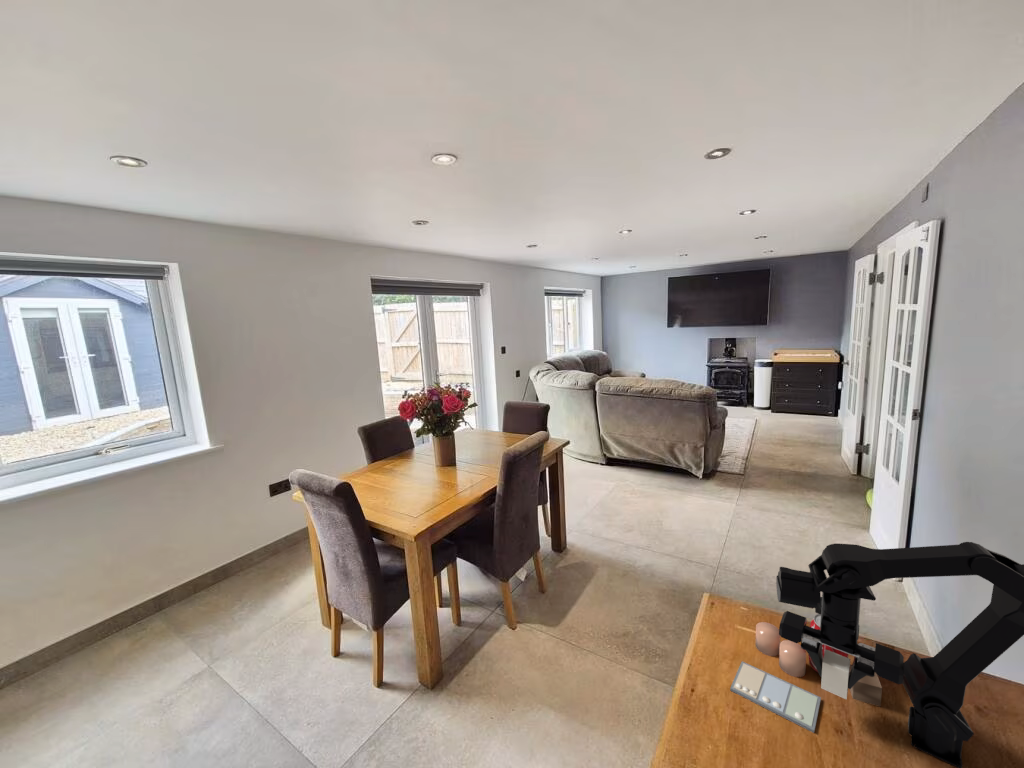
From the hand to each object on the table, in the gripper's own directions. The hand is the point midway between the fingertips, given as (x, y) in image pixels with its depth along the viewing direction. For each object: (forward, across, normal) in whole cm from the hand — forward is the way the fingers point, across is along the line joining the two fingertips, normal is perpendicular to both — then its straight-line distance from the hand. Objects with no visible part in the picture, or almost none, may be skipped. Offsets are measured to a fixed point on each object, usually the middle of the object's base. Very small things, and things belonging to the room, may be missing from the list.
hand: (835, 681), depth 83 cm
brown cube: (+8, -4, -10) cm, 13 cm away
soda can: (+8, +2, -12) cm, 15 cm away
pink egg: (+8, +8, -8) cm, 14 cm away
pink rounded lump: (+8, +14, -11) cm, 19 cm away
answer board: (+8, +10, +2) cm, 13 cm away
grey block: (+1, 0, 0) cm, 1 cm away
